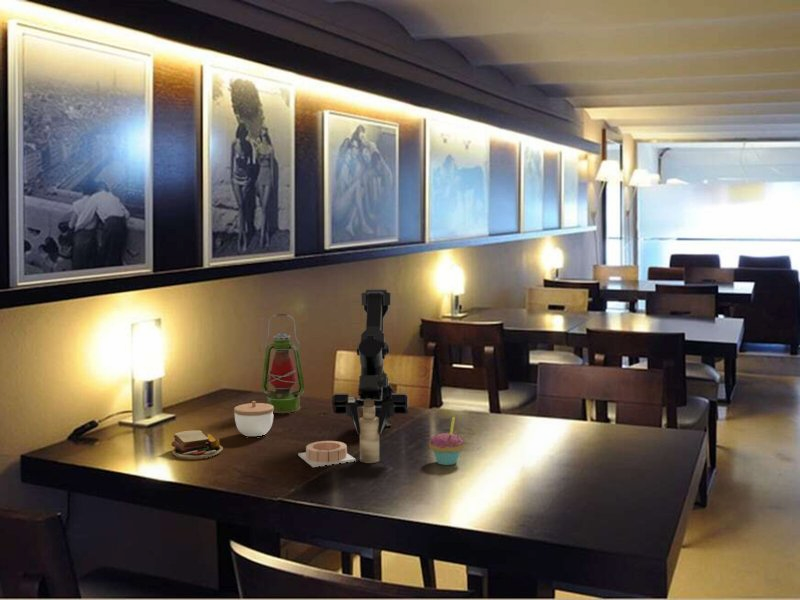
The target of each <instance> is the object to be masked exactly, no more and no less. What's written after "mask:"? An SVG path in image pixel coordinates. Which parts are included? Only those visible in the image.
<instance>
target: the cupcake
mask: <svg viewBox="0 0 800 600" xmlns="http://www.w3.org/2000/svg"><path fill="white" fill-rule="evenodd" d="M455 416H456V414H454V415H453V417H451V421H450V422H451V423H450V430H449V432H447V433H446V432H444V433H443V432H442V433H438V434H435V435H434V436H432V437H431V438H430V439H429V442H428V447H429V450H431V451H432V452H433V455H434V456H435V460H436V462H437V464H439V465H443V466H449V465H450V466H451V465H455V464H457V462H458V458H459V455H460V453H461V451H463V449H464V448H465V447H464V446H465V444H466V443H465V441H464V440H463V439H462V437H460V436H459V435H457V434H454V433H453V432H454V426H455V420H456V417H455Z"/></svg>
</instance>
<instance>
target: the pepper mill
mask: <svg viewBox="0 0 800 600" xmlns="http://www.w3.org/2000/svg"><path fill="white" fill-rule="evenodd" d="M359 428H360V432H359V461H360V462H361V463H363V462H364V463H365V464H373V463H379V461H380V434H379V417H376V416H375V405H374V400H373V399H371V398H367V399H365V401H364V406H363V407H362V416H360V417H359ZM364 463H363V464H364Z"/></svg>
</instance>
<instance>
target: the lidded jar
mask: <svg viewBox="0 0 800 600" xmlns="http://www.w3.org/2000/svg"><path fill="white" fill-rule="evenodd" d="M273 411H274V407H273V405H270V404H267V403H266V402H265V403H261V402H256V400H253V401H251V403H250V402H249V403H243V404H239V405H237V406H235V407H234V408H233V413H234V422H235V426H236V428H237V430H238V432H240V433H241V434H242V435H245V436H262V435H265V434H267V433H268V432H269V431H270V429H272V426H273V422H274V414H273ZM265 436H266V435H265Z"/></svg>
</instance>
